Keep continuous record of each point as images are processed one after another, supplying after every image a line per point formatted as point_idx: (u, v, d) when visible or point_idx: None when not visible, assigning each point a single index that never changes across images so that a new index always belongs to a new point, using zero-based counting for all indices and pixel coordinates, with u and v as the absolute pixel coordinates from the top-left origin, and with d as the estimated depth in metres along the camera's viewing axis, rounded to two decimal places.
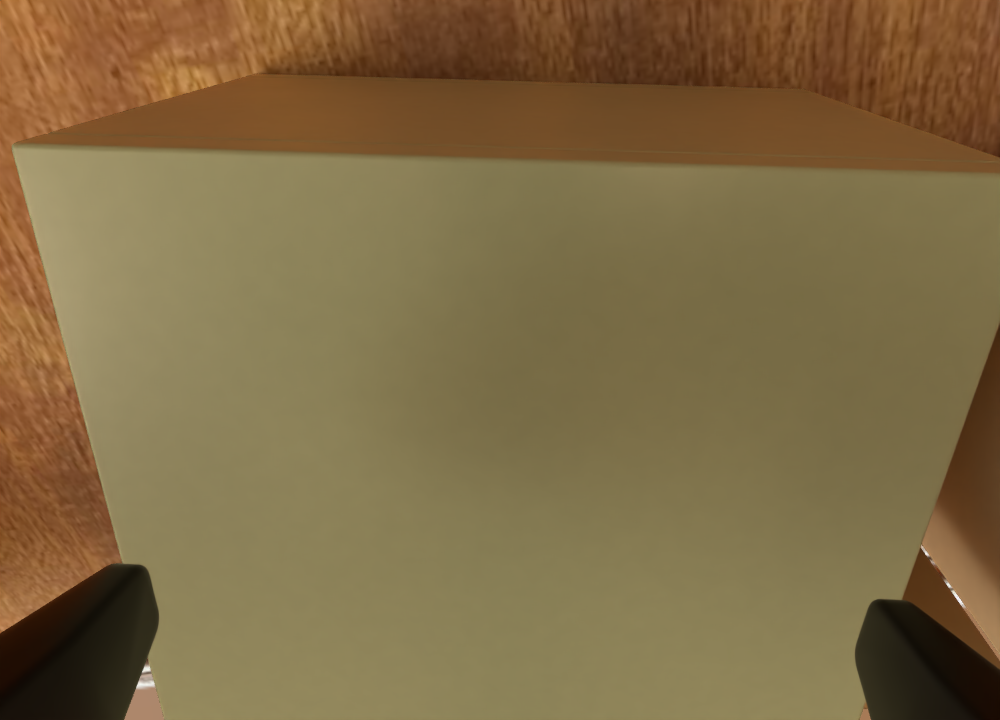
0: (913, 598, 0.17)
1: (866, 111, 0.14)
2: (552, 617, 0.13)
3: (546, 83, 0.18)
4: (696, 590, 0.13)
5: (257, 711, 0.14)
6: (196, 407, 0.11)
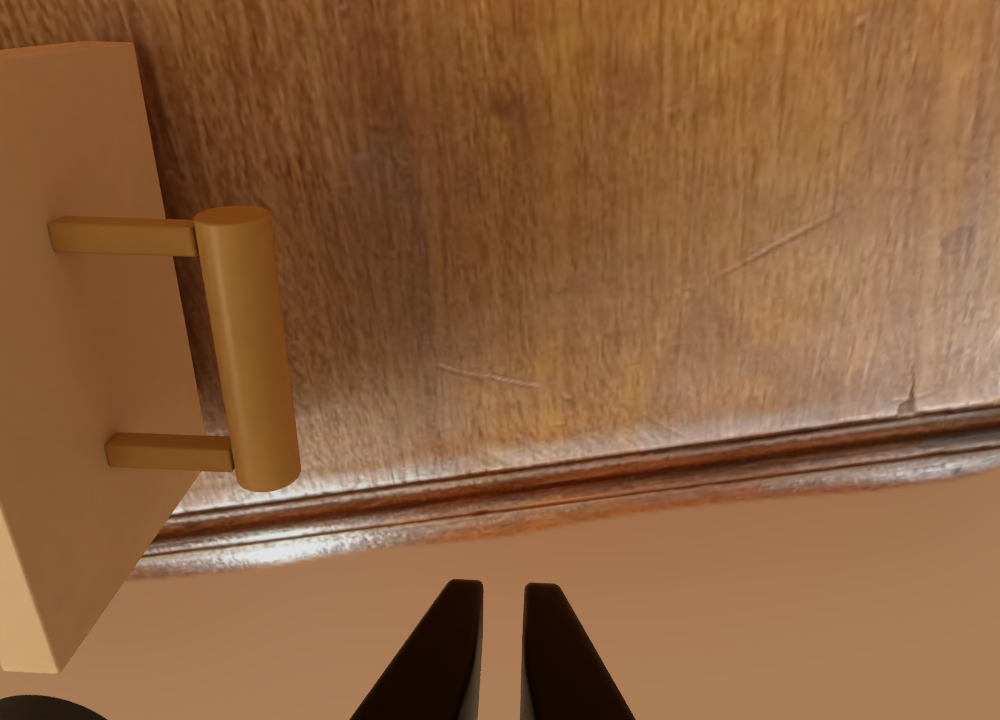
0: None
1: None
2: None
3: None
4: None
5: None
6: None
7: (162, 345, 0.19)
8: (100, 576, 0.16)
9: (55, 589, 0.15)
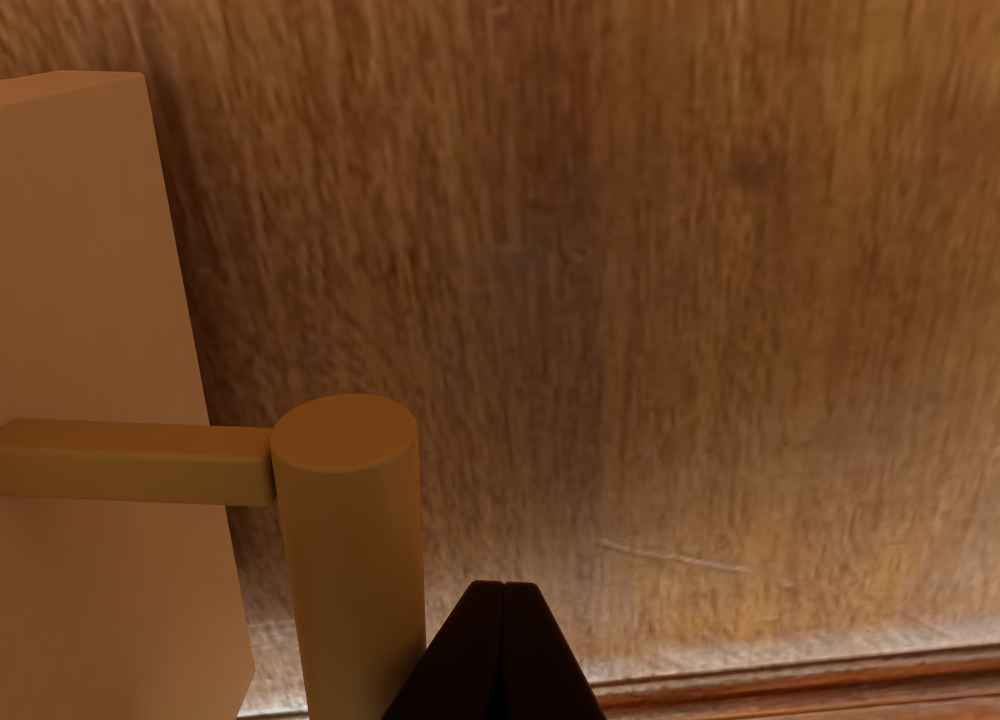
0: None
1: None
2: None
3: None
4: None
5: None
6: None
7: (190, 550, 0.12)
8: None
9: None
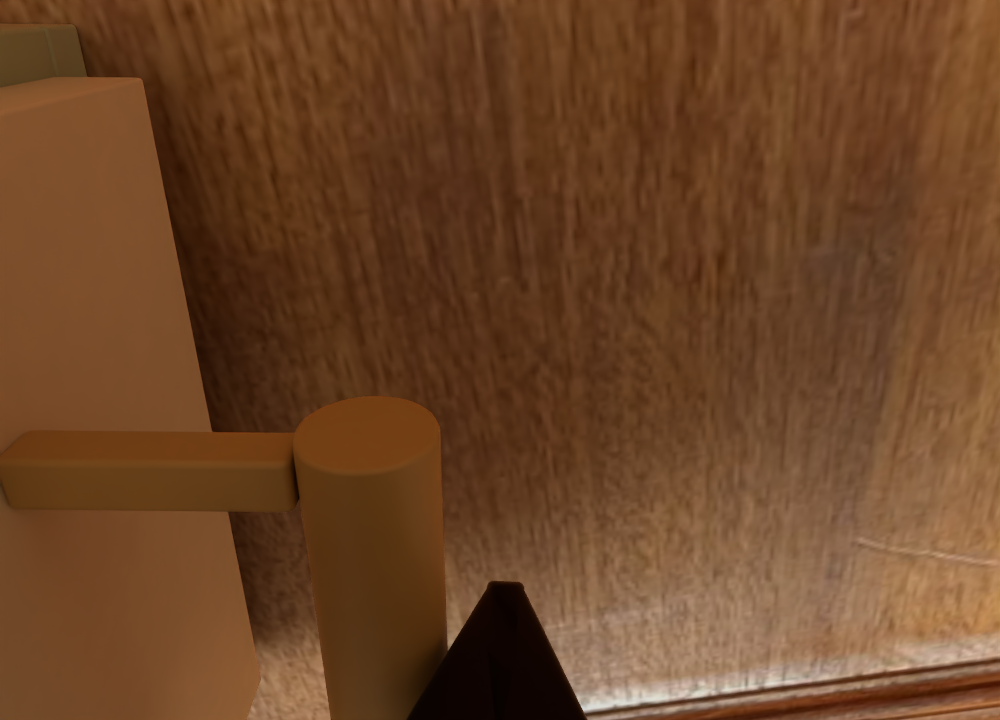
0: None
1: None
2: None
3: None
4: None
5: None
6: None
7: (197, 559, 0.12)
8: None
9: None
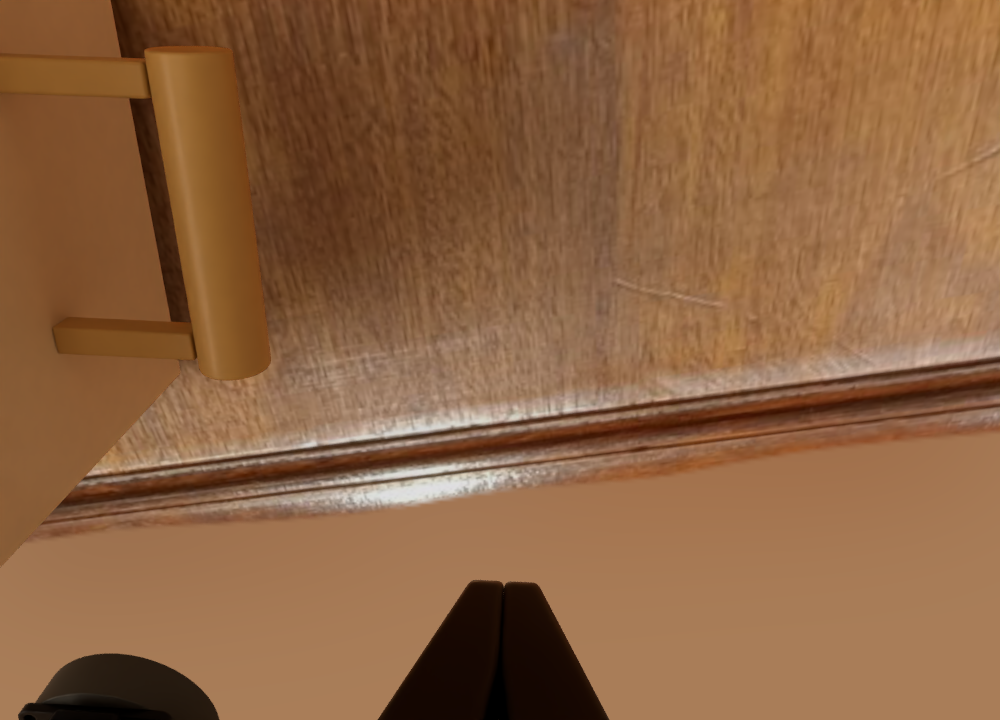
0: None
1: None
2: None
3: None
4: None
5: None
6: None
7: (123, 234, 0.17)
8: (47, 473, 0.15)
9: None
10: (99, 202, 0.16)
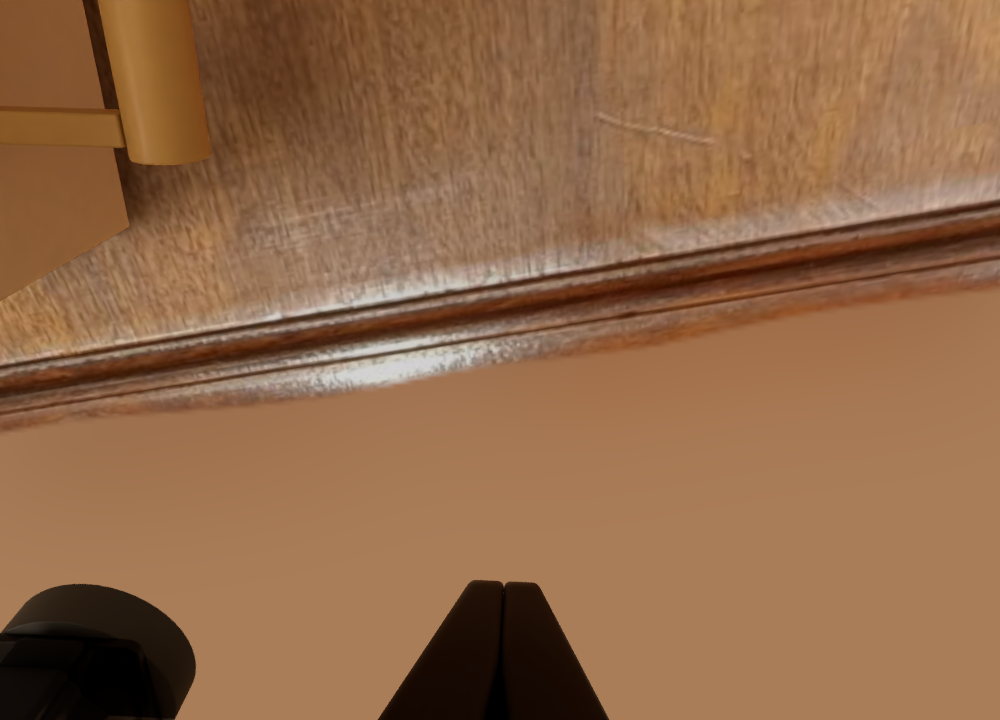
0: None
1: None
2: None
3: None
4: None
5: None
6: None
7: (55, 43, 0.16)
8: None
9: None
10: None
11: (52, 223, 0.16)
